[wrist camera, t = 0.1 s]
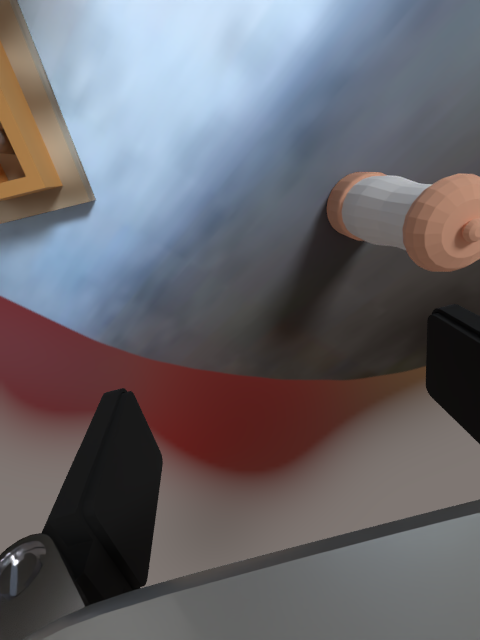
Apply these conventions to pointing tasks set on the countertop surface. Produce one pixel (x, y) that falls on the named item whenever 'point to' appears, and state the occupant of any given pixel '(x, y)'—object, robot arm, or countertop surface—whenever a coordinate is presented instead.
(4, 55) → the link
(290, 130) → the countertop surface
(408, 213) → the pepper shaker
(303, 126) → the countertop surface
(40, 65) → the peg base
